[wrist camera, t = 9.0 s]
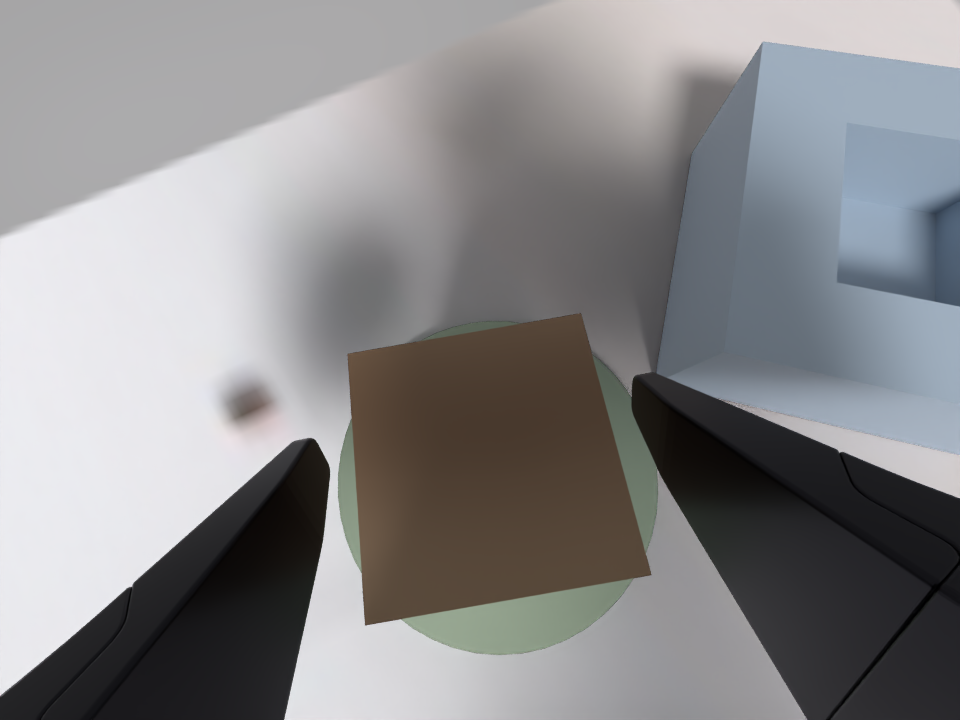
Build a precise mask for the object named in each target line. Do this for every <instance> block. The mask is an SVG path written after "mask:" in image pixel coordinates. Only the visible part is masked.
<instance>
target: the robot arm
mask: <svg viewBox="0 0 960 720" xmlns="http://www.w3.org/2000/svg"><path fill="white" fill-rule="evenodd" d="M631 408H632V413H633V416H634V418H635V421H636V423H637V425H638V427H639V429H640V432H641V434H642V436H643V438H644V440H645V443H646V445H647V447H648V449H649V451H650V453H651V456H652V458H653V460H654V462H655V464H656V467H657V469H658V471H659V473H660V475H661V477H662V479H663V480H664V482H665V484H666V486H667V487H668V489H669V491H670V492H671V494H672V496H673V497H674V499H675V501H676V502H677V504H678V506H679V507H680V509H681V511H682V512H683V514H684V516H685V517H686V519H687V521H688V522H689V524H690V526H691V527H692V529H693V531H694V532H695V534H696V536H697V537H698V539H699V541H700V542H701V544H702V546H703V547H704V549H705V551H706V552H707V554H708V556H709V557H710V559H711V560H712V562H713V564H714V565H715V567H716V569H717V570H718V572H719V574H720V575H721V577H722V579H723V580H724V582H725V584H726V585H727V587H728V589H729V590H730V592H731V594H732V595H733V597H734V599H735V600H736V602H737V604H738V605H739V607H740V609H741V610H742V612H743V614H744V615H745V617H746V619H747V620H748V622H749V624H750V625H751V627H752V629H753V630H754V632H755V633H756V635H757V637H758V638H759V640H760V642H761V643H762V645H763V647H764V648H765V650H766V652H767V653H768V655H769V657H770V658H771V660H772V662H773V663H774V665H775V667H776V668H777V670H778V672H779V673H780V675H781V677H782V678H783V680H784V682H785V683H786V685H787V687H788V688H789V690H790V692H791V693H792V695H793V697H794V698H795V700H796V702H797V703H798V705H799V707H800V708H801V710H802V711H803V713H804V715H805V716H806V718H807V720H960V498H957V497H954V496H952V495H949V494H946V493H944V492H941V491H938V490H936V489H933V488H930V487H928V486H925V485H922V484H920V483H917V482H914V481H912V480H910V479H907V478H905V477H902V476H900V475H897V474H895V473H892V472H890V471H887V470H885V469H882V468H880V467H878V466H875V465H873V464H870V463H868V462H865V461H863V460H861V459H858V458H856V457H854V456H851V455H849V454H847V453H844V452H841V453H839V452H838V450H837V449H834V448H832V447H830V446H827V445H825V444H823V443H820V442H818V441H816V440H813V439H811V438H808V437H806V436H804V435H801V434H799V433H797V432H794V431H792V430H790V429H787V428H785V427H782V426H780V425H778V424H775V423H773V422H771V421H768V420H766V419H764V418H761V417H759V416H756V415H754V414H752V413H749V412H747V411H745V410H742V409H740V408H737V407H735V406H733V405H730V404H728V403H726V402H723V401H721V400H719V399H716V398H714V397H711V396H709V395H707V394H704V393H702V392H700V391H697V390H695V389H693V388H690V387H688V386H685V385H683V384H681V383H678V382H676V381H674V380H671V379H669V378H667V377H664V376H662V375H659V374H657V373H654V372H650V373H645V374H640V375H636V376H635V377H634V378H633V381H632V402H631ZM329 481H330V468H329V464H328V462H327V460H326V458H325V456H324V454H323V453H322V451H321V449H320V447H319V445H318V443H317V442H316V440H315V439H313V438H307V439H302V440H296V441H294V442H292V443H291V444H290V445H288V446H287V447H286V448H285V449H284V450H283V451H282V452H281V453H279V454H278V455H277V456H276V457H275V458H274V459H273V460H272V461H270V462H269V463H268V464H267V465H266V466H265V467H264V468H262V469H261V470H260V471H259V472H258V473H257V474H256V475H255V476H253V477H252V478H251V479H250V480H249V481H248V482H247V483H246V484H244V485H243V486H242V487H241V488H240V489H239V490H238V491H237V492H235V493H234V494H233V495H232V496H231V497H230V498H229V499H228V500H226V501H225V502H224V503H223V504H222V505H221V506H220V507H219V508H217V509H216V510H215V511H214V512H213V513H212V514H211V515H209V516H208V517H207V518H206V519H205V520H204V521H203V522H202V523H200V524H199V525H198V526H197V527H196V528H195V529H194V530H193V531H191V532H190V533H189V534H188V535H187V536H186V537H185V538H184V539H182V540H181V541H180V542H179V543H178V544H177V545H176V546H175V547H173V548H172V549H171V550H170V551H169V552H168V553H167V554H166V555H164V556H163V557H162V558H161V559H160V560H159V561H158V562H156V563H155V564H154V565H153V566H152V567H151V568H150V569H149V570H147V571H146V572H145V573H144V574H143V575H142V576H141V577H140V578H138V579H137V580H136V581H135V582H134V583H133V586H132V587H129V588H127V589H126V590H125V591H124V592H123V593H121V594H120V595H119V596H118V597H117V598H116V599H115V600H114V601H112V602H111V603H110V604H109V605H108V606H107V607H106V608H105V609H103V610H102V611H101V612H100V613H99V614H98V615H97V616H95V617H94V618H93V619H92V620H91V621H90V622H88V623H87V624H86V625H85V626H84V627H83V628H81V629H80V630H79V631H78V632H77V633H76V634H75V635H73V636H72V637H71V638H70V639H69V640H68V641H66V642H65V643H64V644H63V645H62V646H60V647H59V648H58V649H57V650H56V651H54V652H53V653H52V654H51V655H50V656H48V657H47V658H46V659H45V660H43V661H42V662H41V663H40V664H39V665H37V666H36V667H35V668H34V669H33V670H31V671H30V672H29V673H28V674H27V675H25V676H24V677H23V678H22V679H20V680H19V681H18V682H17V683H16V684H14V685H13V686H12V687H11V688H9V689H8V690H7V691H6V692H4V693H3V694H2V695H1V696H0V720H284V718H285V713H286V709H287V704H288V700H289V695H290V690H291V686H292V681H293V677H294V672H295V668H296V663H297V658H298V654H299V649H300V645H301V640H302V636H303V631H304V626H305V622H306V617H307V613H308V608H309V604H310V599H311V594H312V590H313V585H314V581H315V576H316V571H317V567H318V562H319V558H320V553H321V548H322V543H323V536H324V528H325V519H326V509H327V500H328V490H329Z"/></svg>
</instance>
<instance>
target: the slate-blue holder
mask: <svg viewBox="0 0 960 720" xmlns="http://www.w3.org/2000/svg"><path fill="white" fill-rule="evenodd" d="M656 373H657V374H659V375H662V376H664V377H667V378H669V379H671V380H674V381H676V382H678V383H681V384H683V385H685V386H688V387H690V388H693V389H695V390H697V391H700V392H702V393H704V394H707V395H709V396H711V397H714V398H719V399H723V400H727V401H731V402H736V403H740V404H744V405H748V406H753V407H757V408H761V409H765V410H770V411H774V412H778V413H782V414H787V415H791V416H795V417H799V418H804V419H808V420H812V421H816V422H821V423H825V424H829V425H833V426H838V427H842V428H846V429H850V430H855V431H859V432H863V433H867V434H872V435H876V436H880V437H885V438H889V439H893V440H897V441H902V442H906V443H910V444H914V445H919V446H923V447H927V448H931V449H936V450H940V451H944V452H948V453H953V454H957V455H960V69H959V68H952V67H945V66H937V65H930V64H923V63H915V62H908V61H901V60H894V59H886V58H879V57H872V56H864V55H857V54H850V53H843V52H835V51H828V50H821V49H813V48H806V47H799V46H792V45H784V44H777V43H770V42H762V44H761V45H760V47H759V49H758V50H757V52H756V53H755V55H754V56H753V58H752V60H751V61H750V63H749V64H748V66H747V67H746V69H745V71H744V72H743V74H742V75H741V77H740V79H739V80H738V82H737V83H736V85H735V86H734V88H733V90H732V91H731V93H730V94H729V96H728V97H727V99H726V101H725V102H724V104H723V105H722V107H721V108H720V110H719V112H718V113H717V115H716V116H715V118H714V119H713V121H712V123H711V124H710V126H709V127H708V129H707V130H706V132H705V134H704V135H703V137H702V138H701V140H700V141H699V143H698V145H697V146H696V148H695V149H694V151H693V152H692V156H691V162H690V168H689V174H688V180H687V186H686V192H685V199H684V205H683V211H682V217H681V223H680V229H679V235H678V241H677V248H676V254H675V260H674V266H673V272H672V278H671V284H670V290H669V297H668V303H667V309H666V315H665V321H664V327H663V333H662V339H661V346H660V352H659V358H658V364H657V370H656Z"/></svg>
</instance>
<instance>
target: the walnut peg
mask: <svg viewBox="0 0 960 720" xmlns="http://www.w3.org/2000/svg"><path fill="white" fill-rule="evenodd" d="M348 368H349V384H350V399H351V415H352V430H353V446H354V461H355V477H356V492H357V508H358V523H359V539H360V555H361V570H362V586H363V601H364V617H365V625H370V624H376V623H382V622H387V621H393V620H399V619H405V618H410V617H416V616H422V615H427V614H433V613H439V612H444V611H450V610H456V609H461V608H467V607H473V606H479V605H484V604H490V603H496V602H501V601H507V600H513V599H518V598H524V597H530V596H536V595H541V594H547V593H553V592H558V591H564V590H570V589H575V588H581V587H587V586H592V585H598V584H604V583H610V582H615V581H621V580H627V579H632V578H638V577H644V576H649V575H651V571H650V568H649V564H648V560H647V556H646V553H645V549H644V545H643V542H642V538H641V534H640V530H639V527H638V523H637V519H636V516H635V512H634V508H633V504H632V501H631V497H630V493H629V490H628V486H627V482H626V479H625V475H624V471H623V467H622V464H621V460H620V456H619V453H618V449H617V445H616V441H615V438H614V434H613V430H612V427H611V423H610V419H609V416H608V412H607V408H606V404H605V401H604V397H603V393H602V390H601V386H600V382H599V378H598V375H597V371H596V367H595V364H594V360H593V356H592V353H591V349H590V345H589V341H588V338H587V334H586V330H585V327H584V323H583V319H582V315H581V313H580V314H574V315H568V316H562V317H557V318H551V319H545V320H539V321H533V322H528V323H522V324H516V325H510V326H505V327H499V328H493V329H487V330H482V331H476V332H470V333H464V334H459V335H453V336H447V337H441V338H436V339H430V340H424V341H418V342H413V343H407V344H401V345H395V346H390V347H384V348H378V349H372V350H367V351H361V352H355V353H349V354H348Z"/></svg>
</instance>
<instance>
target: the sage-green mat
mask: <svg viewBox="0 0 960 720" xmlns="http://www.w3.org/2000/svg"><path fill="white" fill-rule="evenodd" d="M516 324H522V323H515V322H505V321H486V322H476V323H469V324H465V325H460V326H456V327H452V328H449V329H446V330H444V331H441V332H438V333H435V334H433V335H431V336H429V337H427V338H425V339H423V340H421V341H424V340H430V339H436V338H441V337H447V336H453V335H459V334H464V333H470V332H476V331H482V330H487V329H493V328H499V327H505V326H510V325H516ZM592 356H593V355H592ZM593 360H594V364H595V367H596V371H597V375H598V378H599V382H600V386H601V390H602V393H603V397H604V401H605V404H606V408H607V412H608V416H609V419H610V423H611V427H612V430H613V434H614V438H615V441H616V445H617V449H618V453H619V456H620V460H621V464H622V467H623V471H624V475H625V479H626V482H627V486H628V490H629V493H630V497H631V501H632V504H633V508H634V512H635V516H636V519H637V523H638V527H639V530H640V534H641V538H642V542H643V545H644V549H645V553H646V551H647V548H648V546H649V543H650V540H651V537H652V533H653V528H654V523H655V518H656V512H657V498H658V483H657V468H656V464H655V462H654V460H653V458H652V456H651V453H650V451H649V449H648V447H647V445H646V443H645V440H644V438H643V436H642V434H641V432H640V429H639V427H638V425H637V423H636V421H635V418H634V416H633V413H632V408H631V402H632V398H631V397H630V395H629V394H628V392H627V390H626V389H625V388H624V387H623V385H622V384H621V383H620V382H619V380H618V379H617V378H616V377H615V375H614V374H613V373H612V372H611V371H610V370H609V369H608V368H607V367H606V366H605V365H604V364H603V363H602V362H601V361H600V360H599V359H597V358H596V357H595V356H593ZM338 499H339V507H340V515H341V521H342V525H343V529H344V533H345V536H346V540H347V542H348V545H349V548H350V550H351V553H352V555H353V558H354V560H355V562H356V564H357V566H358V567H359V569H360V571H361V573H362V570H361V555H360V539H359V523H358V508H357V492H356V477H355V461H354V446H353V430H352V419H351V422H350V424H349V427H348V429H347V432H346V435H345V439H344V443H343V447H342V451H341V456H340V464H339V472H338ZM633 579H634V578H632V579H627V580H621V581H615V582H610V583H604V584H598V585H592V586H587V587H581V588H575V589H570V590H564V591H558V592H553V593H547V594H541V595H536V596H530V597H524V598H518V599H513V600H507V601H501V602H496V603H490V604H484V605H479V606H473V607H467V608H461V609H456V610H450V611H444V612H439V613H433V614H427V615H422V616H416V617H410V618H405V619H401V620H403V621H404V622H405V623H407V624H408V625H409V626H410V627H412V628H413V629H415V630H417V631H418V632H420V633H422V634H424V635H425V636H427V637H429V638H431V639H432V640H435V641H438V642H440V643H443V644H445V645H448V646H450V647H453V648H456V649H461V650H465V651H469V652H473V653H480V654H493V655H507V654H521V653H526V652H531V651H535V650H540V649H544V648H547V647H549V646H552V645H555V644H557V643H560V642H562V641H565V640H567V639H569V638H571V637H572V636H574V635H576V634H578V633H579V632H581V631H583V630H585V629H586V628H587V627H589V626H590V625H591V624H593V623H594V622H595V621H596V620H598V619H599V618H600V617H601V616H603V615H604V614H605V613H606V612H607V611H608V610H609V609H610V608H611V607H612V606H613V605H614V603H615V602H616V601H617V600H618V599H619V598H620V597H621V596H622V594H623V593H624V591H625V590H626V589H627V587H628V586H629V584H630V583H631V581H632V580H633Z"/></svg>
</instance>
